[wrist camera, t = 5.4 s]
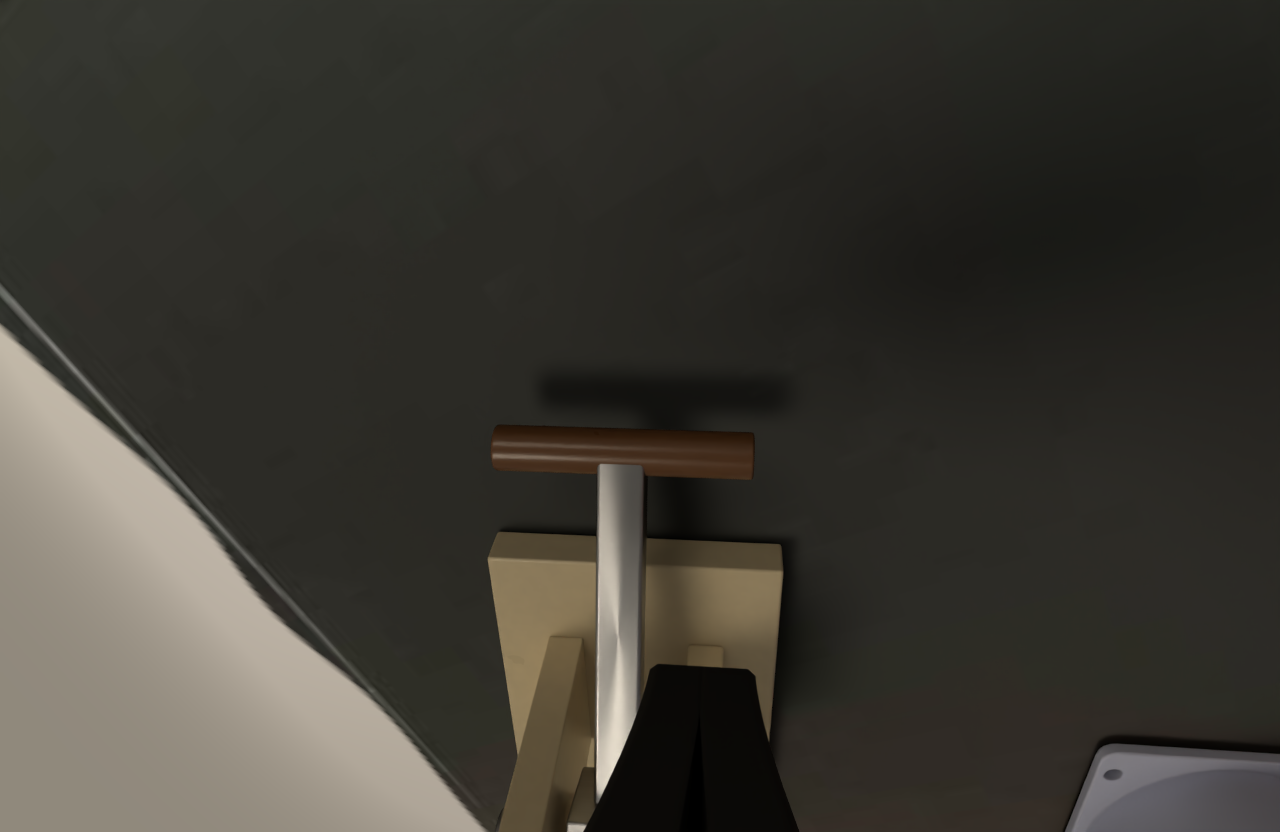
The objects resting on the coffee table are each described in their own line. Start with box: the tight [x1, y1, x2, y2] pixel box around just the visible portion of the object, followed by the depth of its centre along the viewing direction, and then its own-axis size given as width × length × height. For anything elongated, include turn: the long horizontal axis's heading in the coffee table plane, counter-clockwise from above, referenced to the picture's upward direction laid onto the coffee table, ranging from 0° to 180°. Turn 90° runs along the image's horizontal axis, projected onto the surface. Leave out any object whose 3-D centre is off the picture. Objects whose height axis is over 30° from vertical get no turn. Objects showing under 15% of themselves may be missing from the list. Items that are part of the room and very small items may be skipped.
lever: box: [491, 425, 755, 832], centre depth 20 cm, size 12×6×2 cm, turn 1°
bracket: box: [488, 532, 784, 832], centre depth 22 cm, size 10×8×8 cm
